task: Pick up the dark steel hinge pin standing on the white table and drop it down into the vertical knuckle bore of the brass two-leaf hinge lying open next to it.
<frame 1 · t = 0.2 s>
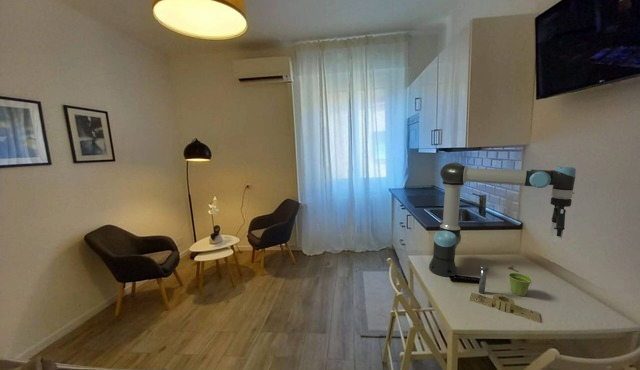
hand: (555, 238, 129), 28 cm above the table, fingers open, 13 cm apart
hinge: (502, 306, 117), on the table
pin: (481, 292, 129), on the table
plant pot: (518, 293, 129), on the table
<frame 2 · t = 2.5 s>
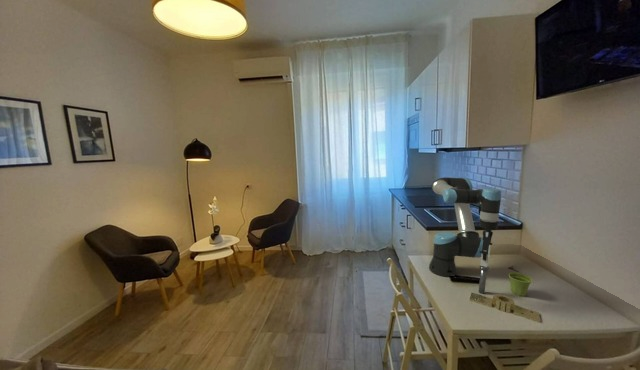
hand: (484, 261, 126), 17 cm above the table, fingers open, 13 cm apart
nothing on the table moved.
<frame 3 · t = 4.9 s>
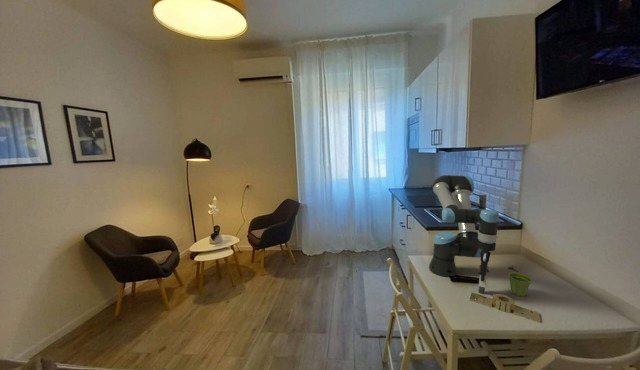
hand: (482, 284, 128), 4 cm above the table, fingers closed on pin, 2 cm apart
pin: (481, 292, 129), on the table, touching gripper
everything else where it was.
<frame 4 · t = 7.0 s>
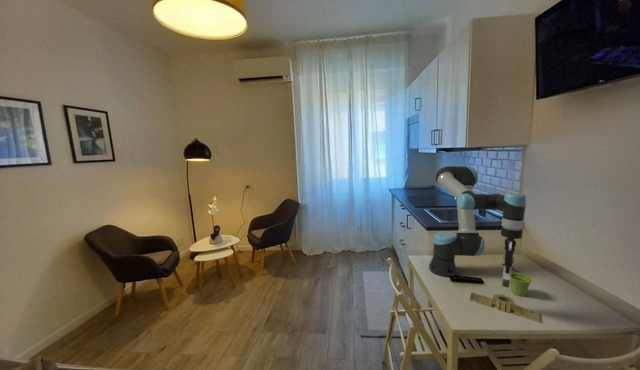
hand: (506, 277, 115), 15 cm above the table, fingers closed on pin, 2 cm apart
pin: (505, 285, 115), point 11 cm above the table, touching gripper
everything else where it was.
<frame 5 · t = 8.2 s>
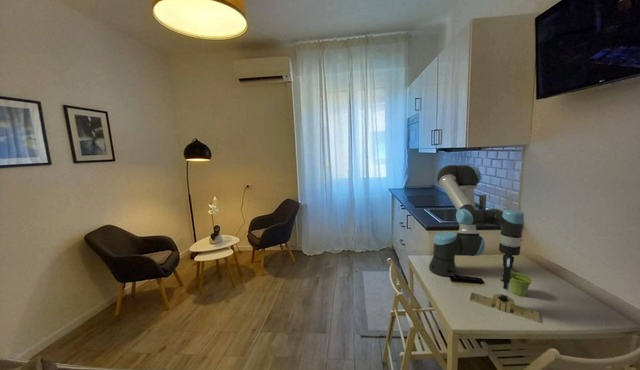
hand: (504, 292, 116), 7 cm above the table, fingers closed on pin, 2 cm apart
pin: (503, 300, 117), point 3 cm above the table, touching gripper
everything else where it was.
when the fingers open (5 cm above the table, at t = 9.3 s): pin drops 1 cm, resting in hinge.
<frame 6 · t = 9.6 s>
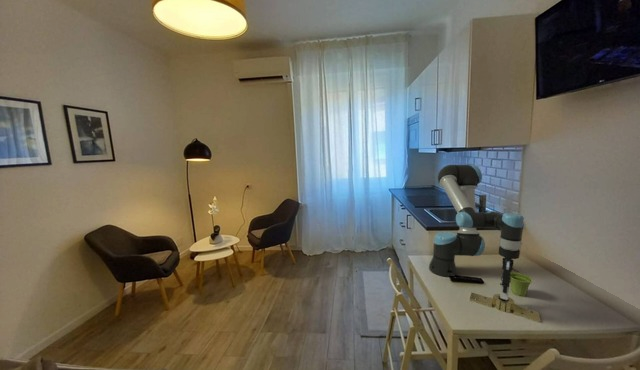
hand: (503, 295, 116), 6 cm above the table, fingers open, 6 cm apart
pin: (502, 306, 117), resting in hinge
everything else where it was.
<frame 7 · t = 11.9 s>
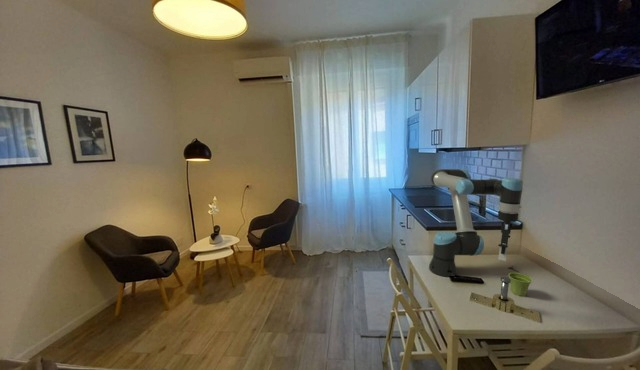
hand: (502, 254, 120), 23 cm above the table, fingers open, 13 cm apart
nothing on the table moved.
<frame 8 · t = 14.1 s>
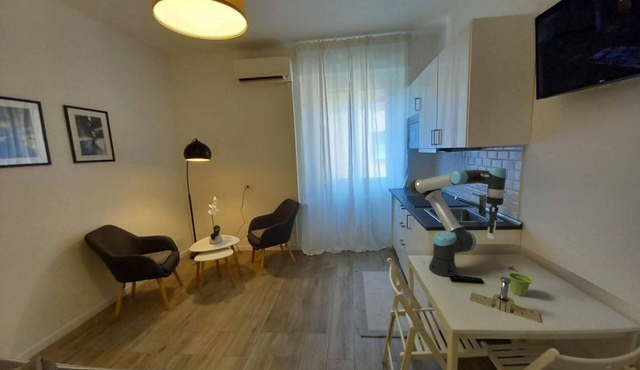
hand: (491, 235, 136), 27 cm above the table, fingers open, 13 cm apart
nothing on the table moved.
at the end: pin 0.1 cm off-centre on the hinge, point 0.0 cm above the hinge's base; pin tilted 0°; the gripper is holding nothing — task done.
